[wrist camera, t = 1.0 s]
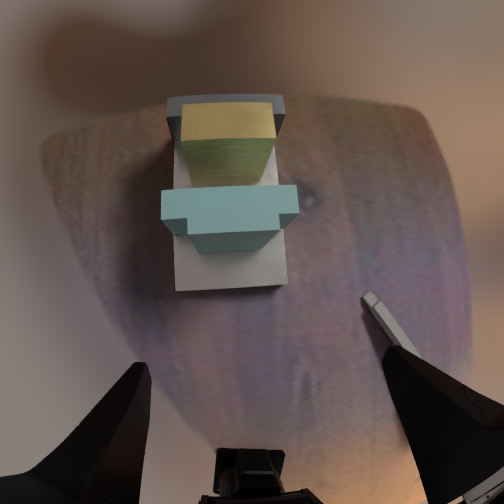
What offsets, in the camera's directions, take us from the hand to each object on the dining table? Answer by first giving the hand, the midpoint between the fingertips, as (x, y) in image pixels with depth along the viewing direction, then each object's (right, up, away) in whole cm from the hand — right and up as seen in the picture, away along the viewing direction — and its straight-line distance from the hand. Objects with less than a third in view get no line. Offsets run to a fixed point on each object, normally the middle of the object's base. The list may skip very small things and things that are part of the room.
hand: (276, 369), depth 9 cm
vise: (-3, +8, +15) cm, 18 cm away
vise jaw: (-3, +6, +13) cm, 15 cm away
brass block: (-3, +12, +14) cm, 19 cm away
